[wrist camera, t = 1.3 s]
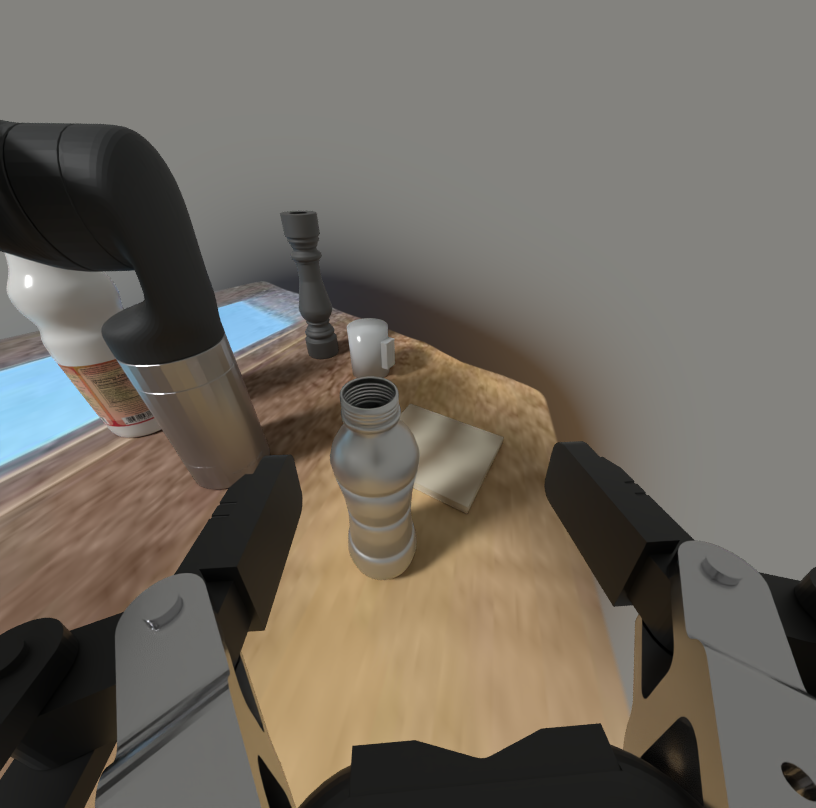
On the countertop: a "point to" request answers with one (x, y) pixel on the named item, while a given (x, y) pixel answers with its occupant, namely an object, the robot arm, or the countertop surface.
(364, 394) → the plastic bottle
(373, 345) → the grey mug
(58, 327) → the fruit juice
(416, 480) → the plain beige board
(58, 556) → the countertop surface
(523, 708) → the countertop surface
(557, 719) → the countertop surface
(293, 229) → the candle holder
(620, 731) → the countertop surface
